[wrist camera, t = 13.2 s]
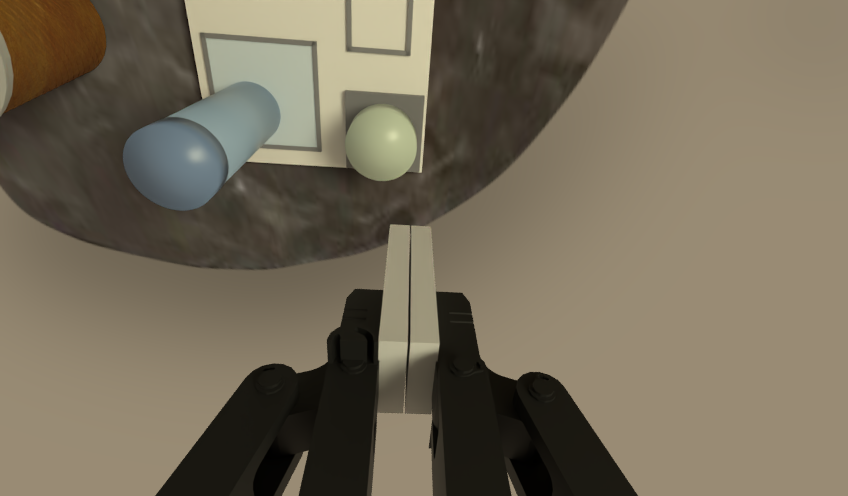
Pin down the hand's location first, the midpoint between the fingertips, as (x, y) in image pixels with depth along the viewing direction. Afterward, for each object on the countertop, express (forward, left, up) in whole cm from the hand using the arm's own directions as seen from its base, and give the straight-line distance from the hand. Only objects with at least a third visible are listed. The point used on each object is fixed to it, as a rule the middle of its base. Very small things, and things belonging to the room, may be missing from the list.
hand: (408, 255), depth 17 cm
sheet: (-4, -7, -18) cm, 20 cm away
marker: (-1, -12, -17) cm, 21 cm away
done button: (0, -2, -16) cm, 16 cm away
